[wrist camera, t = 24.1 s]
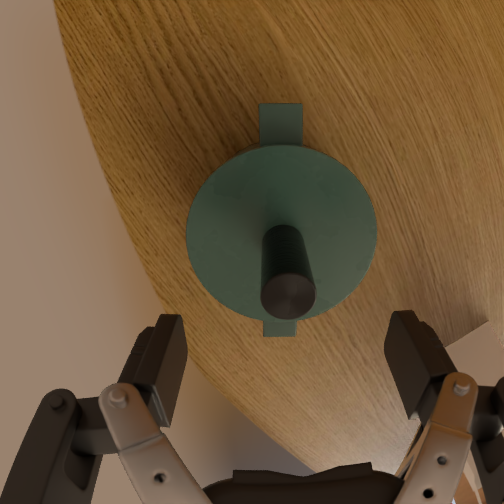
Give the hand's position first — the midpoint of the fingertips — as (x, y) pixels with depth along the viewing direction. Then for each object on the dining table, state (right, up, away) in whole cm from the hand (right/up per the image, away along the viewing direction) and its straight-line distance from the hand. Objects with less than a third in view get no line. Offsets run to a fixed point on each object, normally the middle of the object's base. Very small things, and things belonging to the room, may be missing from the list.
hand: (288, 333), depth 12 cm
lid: (0, +4, +7) cm, 8 cm away
